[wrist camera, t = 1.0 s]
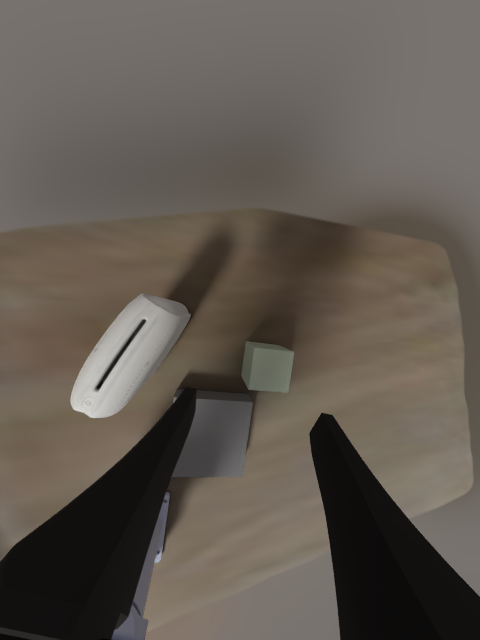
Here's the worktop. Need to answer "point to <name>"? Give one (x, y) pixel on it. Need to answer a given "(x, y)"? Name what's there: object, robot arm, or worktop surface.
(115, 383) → the photo printer
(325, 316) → the worktop surface
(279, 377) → the green cube
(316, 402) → the worktop surface
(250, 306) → the worktop surface
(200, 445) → the grey block
